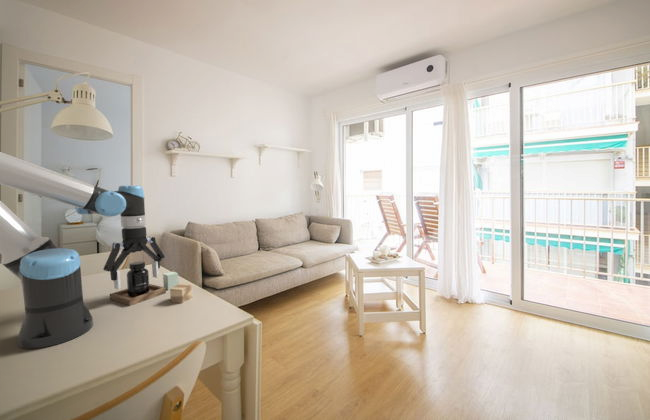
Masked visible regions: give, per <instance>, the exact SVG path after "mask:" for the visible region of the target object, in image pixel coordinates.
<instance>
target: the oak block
mask: <svg viewBox="0 0 650 420" xmlns="http://www.w3.org/2000/svg"><path fill="white" fill-rule="evenodd" d="M169 291H170V292H169V294H170V302H171V303H180V304H184V303H185V302H187V301H189V300H190V298H191V299H192V298H193V285H192V284H191V283H190V284H189V283H187V284H186V283H178V285H177V286H174V287H172V288H170V290H169Z"/></svg>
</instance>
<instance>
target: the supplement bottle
mask: <svg viewBox="0 0 650 420" xmlns="http://www.w3.org/2000/svg"><path fill="white" fill-rule="evenodd" d="M149 277H150V275H149V270H148V269H147V268H146V262H145V261H135V262H130V263H129V270H128V271H127V273H126V286H127V288H126V289H128V296H130V297H137V296H140V295H143V294H146V293H148V292H149V284H150V278H149Z"/></svg>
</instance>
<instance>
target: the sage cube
mask: <svg viewBox="0 0 650 420" xmlns="http://www.w3.org/2000/svg"><path fill="white" fill-rule="evenodd" d="M162 279H163V287H164V288H166V291H170V288H172V287H174V286H177V285H179V274H178V272H176V271H169V272H165V273H162Z"/></svg>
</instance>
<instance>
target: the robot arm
mask: <svg viewBox="0 0 650 420" xmlns="http://www.w3.org/2000/svg"><path fill="white" fill-rule="evenodd" d="M0 185H1V186H5V187H8V188H11V189H15V190H17V191H18V190H19V191H22V192H25V193H29V194H32V195H35V196H39V197H41V198H42V197H43V198H44V199H45V198H46V199H49V200H52V201H55V202H58V203H61V204H65V205H68V206H72V207H74V209H75V212H76V213H77V214H79V215H93V214H95V215H96V214H97V215H102V216H105V217H109V218H110V217H116V216H118V215H120V224H121V225H120V227H121V228H122V229H121V238H122V242H112V244H111V245H112V246H111V248H112V249H111V251H110V253H109V255H108V258H107V259H106V261H105V264H104V266H103V271H104V272H105V271H106V272H109V274H110V280H111V281H113V286H114V290H115V289H116V290H121V289H122V286H121V284H122V283H121V271H120V270H119V268H120V266H122V264H123V263H124V261H125V260H126V259H127V257H128V256H129V255H130V254H131V253H132V254H133V253H136V252H142V251H143V252H144V253H146V255H147V256H149V258H151V259H153V260H152V261H151V268H152V271H151V273H152V278H155V279H158V278H160V274H159V273H160V272H159V269H160V268H161V261H162V259H164V258H165V255H164V253H163V252H162V250H161V248H160V247H159V245H158V244H157V242H156V241H157V240H156V237H155V236H149V237H147V236H148V235H147V228H146V225H147V223H146V207H145V206H146V205H145V193H144V188H143V186H141V185H120V186H118V189H117V190H114V191H113V190H108V189H105V188H102V187H98V186H97V185H96V186H95V185H93V184H90V183H88V182H85V181H83V180H80V179H77V178H75V177H71V176H68V175H65V174H63V173H61V172H57V171H56V170H55V171H54V170H51V169H49V168H46V167H43V166H41V165H38V164H35V163H32V162H30V161H27V160H24V159H21V158H18V157H16V156H13V155H10V154H7V153H4V152H1V151H0ZM147 243H148V244H149V245H150V247H151V248H152V250H153V251H154V252H153V251H152V250H151V249H150V247H148V246H147ZM122 247H123V248H122ZM120 249H122V250H121V252H120ZM119 252H120V253H119ZM0 255H1V256H2V258H1V262H0V263H1V265H2V266H4V267H5V268H6V269H7V270H8V271H9V272H11V273H12V274H13V275H14V276H15V277H16V278H18V279H19V280H20V281H21V282H20V283H21V286H22V294H23V303H24V305H23V306H24V313H25V315H24V318H23V321H22V324H21V327H20V328H19V329H20V330H19V332H18V335H17V341H18V346H19V348H21V349H27V350H28V349H30V350H31V349H32V350H33V349H40V348H47V347H52V346H55V345H58V344H63V343H65V342H68V341H70V340H71V341H72V340H74V339H75V338H78V337H80V336H82V335H83V334H86V333H87V332H88V331H90V330H91V329H92V328H93V326H94V319H93V315H92V314H91V311H90V310H89V308H88V306H87V304H86V303H85V301H84V295H83V293H84V292H83V281H82V272H81V265H82V261H81V258H80V254H79V252H77V250H74V249H72V248H63V247H59V246H58V245H57V244H56V243H55V242H54V241H53V240H52V239H50V237H47V236H39V235H38V234H36V232H34V230H32V229H31V228H30V227H29V226H28V225H27V224H26V223H25V222H24V221H23V220H22V219H20V218H19V216H17V215H16V213H14V212H13V211H12V210H11V209H10V208H9V207H8V206H7V205H6V204H5V203H4V202H3V201H2V200H0ZM118 255H119V256H118Z"/></svg>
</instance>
